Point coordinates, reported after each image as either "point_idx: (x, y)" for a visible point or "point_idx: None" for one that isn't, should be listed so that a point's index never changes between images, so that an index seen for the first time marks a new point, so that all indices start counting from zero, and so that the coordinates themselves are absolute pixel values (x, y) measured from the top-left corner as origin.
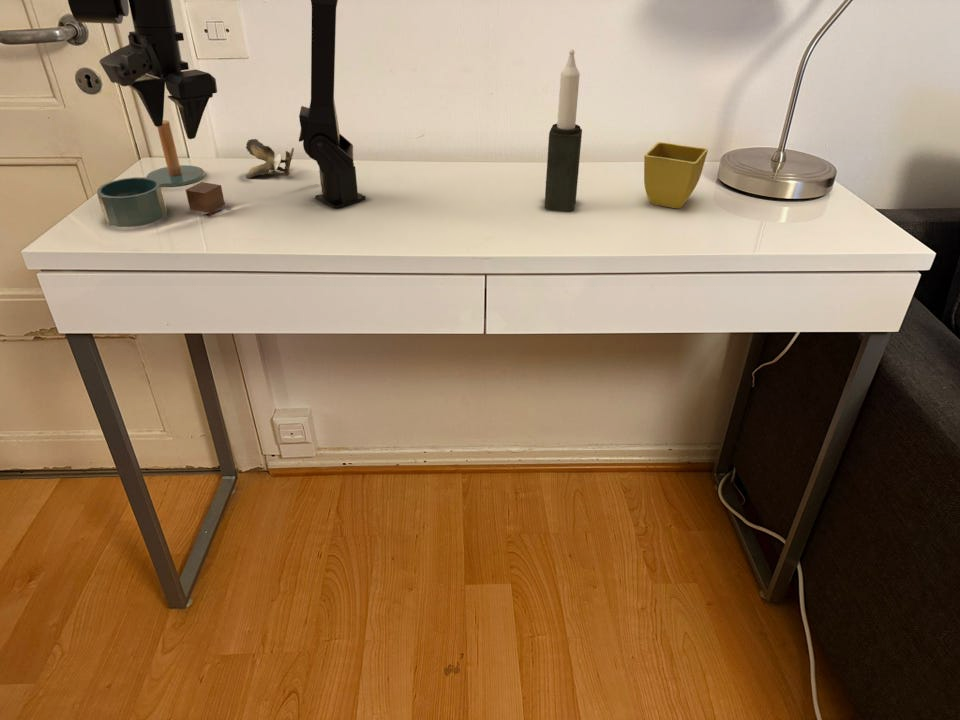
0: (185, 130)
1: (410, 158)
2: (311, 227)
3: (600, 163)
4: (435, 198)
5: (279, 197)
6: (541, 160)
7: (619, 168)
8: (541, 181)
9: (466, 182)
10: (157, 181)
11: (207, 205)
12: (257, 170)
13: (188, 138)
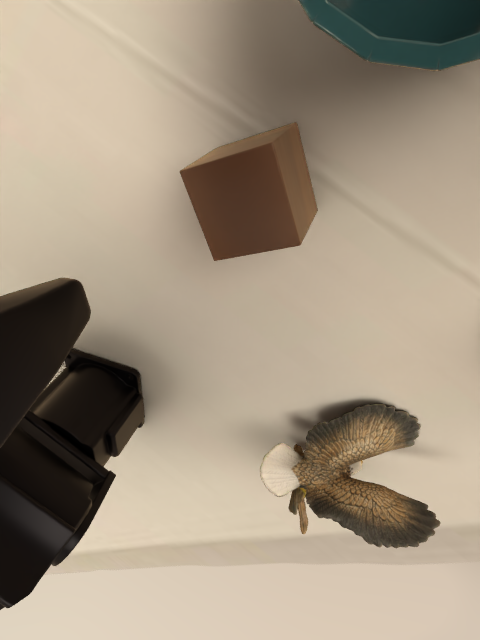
0: (20, 299)
1: (203, 553)
2: (7, 254)
3: None
4: None
5: (204, 348)
6: (83, 558)
7: None
8: None
9: None
10: (383, 54)
11: (203, 157)
12: (340, 434)
13: (68, 278)
